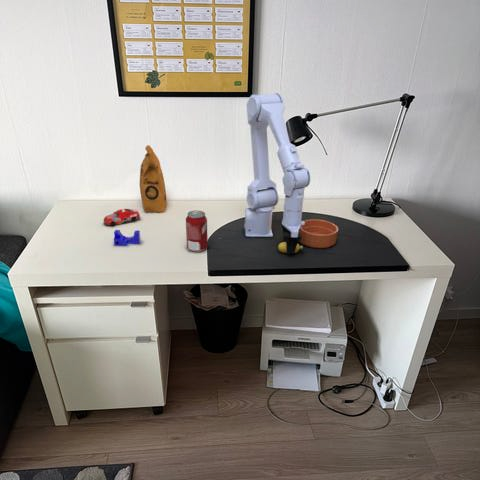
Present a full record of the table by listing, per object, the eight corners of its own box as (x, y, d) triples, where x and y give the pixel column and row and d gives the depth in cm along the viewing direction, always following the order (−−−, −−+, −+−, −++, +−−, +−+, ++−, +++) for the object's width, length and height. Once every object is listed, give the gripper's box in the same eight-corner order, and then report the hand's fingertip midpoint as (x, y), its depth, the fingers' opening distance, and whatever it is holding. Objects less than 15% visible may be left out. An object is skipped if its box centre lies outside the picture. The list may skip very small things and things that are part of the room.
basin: (300, 249, 146) (302, 235, 143) (294, 232, 157) (296, 219, 154) (339, 249, 147) (341, 235, 144) (331, 232, 157) (333, 219, 155)
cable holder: (114, 245, 143) (112, 234, 141) (116, 241, 146) (115, 229, 144) (139, 246, 144) (137, 235, 141) (141, 241, 146) (139, 230, 144)
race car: (107, 228, 154) (105, 217, 152) (101, 222, 158) (100, 212, 156) (142, 220, 160) (140, 210, 158) (136, 215, 164) (135, 205, 162)
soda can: (199, 255, 140) (198, 219, 133) (182, 249, 143) (181, 214, 136) (211, 247, 145) (211, 212, 138) (195, 242, 148) (194, 208, 141)
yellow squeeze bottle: (278, 254, 142) (279, 245, 140) (277, 249, 145) (278, 240, 143) (302, 254, 143) (304, 245, 141) (301, 250, 146) (302, 240, 144)
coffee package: (140, 213, 166) (133, 153, 153) (142, 201, 176) (136, 144, 163) (166, 213, 167) (162, 153, 154) (167, 201, 177) (163, 144, 164)
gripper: (310, 218, 129) (304, 258, 137) (302, 200, 141) (297, 238, 149) (286, 217, 129) (282, 258, 137) (280, 199, 141) (277, 238, 149)
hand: (288, 248), depth 143 cm, fingers open, 6 cm apart
